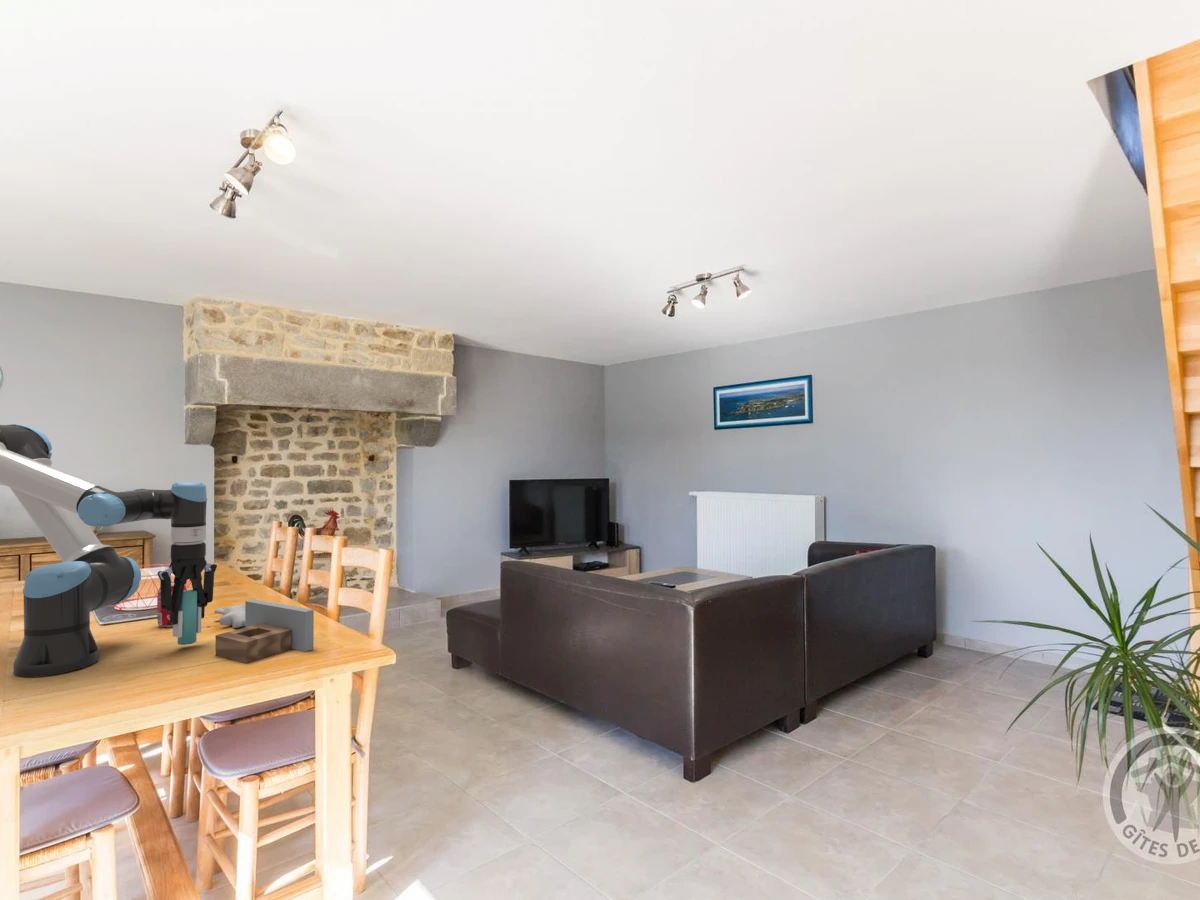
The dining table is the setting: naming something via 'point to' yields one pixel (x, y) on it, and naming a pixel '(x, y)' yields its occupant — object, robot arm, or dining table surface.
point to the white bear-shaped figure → (232, 615)
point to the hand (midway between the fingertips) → (187, 633)
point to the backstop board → (283, 621)
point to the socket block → (253, 642)
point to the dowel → (188, 617)
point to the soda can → (164, 615)
